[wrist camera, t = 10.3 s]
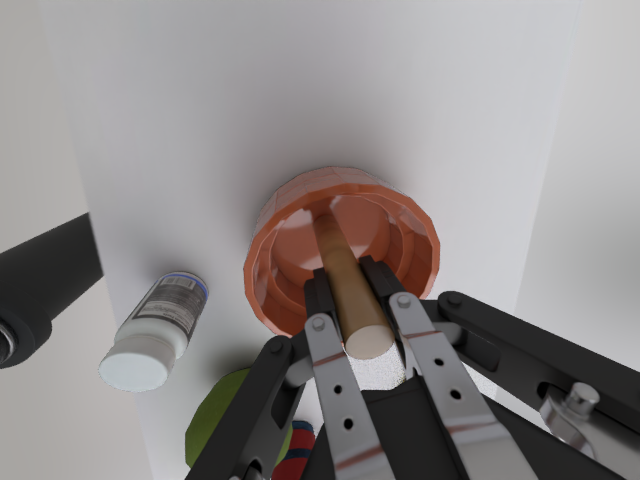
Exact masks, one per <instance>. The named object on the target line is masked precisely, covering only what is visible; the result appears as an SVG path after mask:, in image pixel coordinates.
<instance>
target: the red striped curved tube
mask: <svg viewBox="0 0 640 480" xmlns="http://www.w3.org/2000/svg"><path fill="white" fill-rule="evenodd" d="M291 423H292V428H293V432H292V436H291V440H290V444H289V448H288V451H287V453H286V455H285V457H284V458H283V459H282V460H281V461H280V463H279V464H278V465H277V466H276V467H275V468H274V470H273V473H272V475H271V480H299V479H300V477H301V475H302V472H303V470H304V467H305V465H306V462H307V460H308V458H309V455H310V453H311V450H312V448H313V446H314V443H315V435H314V432H313V427H312V426H311V425H310V424H309V423H306V422H302V421H294V422H291Z"/></svg>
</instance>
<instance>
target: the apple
mask: <svg viewBox="0 0 640 480" xmlns="http://www.w3.org/2000/svg"><path fill="white" fill-rule="evenodd" d="M250 369H251V368H246V369H243V370H239V371H236V372H232V373H230V374H228V375H226V376H224V377H222V378H221V379H220V380H219V381H218V382H217V383H216V385H215V386H214V387H213V389H212V390H211V391H210V393H209V394H208V395H207V396H206V398H205V399H204V400H203V402H202V403H201V404H200V406H199V407H198V409H197V411H196V413H195V415H194V417H193V419H192V421H191V423H190V425H189V427H188V429H187V431H186V433H185V458H186V464H187V465H188V466H189V467H190V468H192V466H193V465H194V463H195V461H196V460H197V458H198V456H199V455H200V453H201V451H202V450H203V448H204V446H205V444H206V443H207V441H208V439H209V438H210V436H211V434H212V433H213V431H214V429H215V428H216V426H217V424H218V423H219V421H220V419H221V418H222V416H223V414H224V413H225V411H226V409H227V407H228V406H229V404H230V402H231V401H232V399H233V397H234V396H235V394H236V392H237V391H238V389H239V387H240V386H241V384H242V382H243V381H244V379H245V377H246V376H247V374H248V372H249V371H250ZM292 432H293V428H292V423H291V425H290V428H289V430H288V433H287V435H286V438H285V441H284V443H283V446H282V449H281V451H280V454H279V457H278V459H277V462H276V465H275V467H276V466H277V465H278V464H279V463H280V461H281V460H282V459H283V458H284V457H285V455H286V453H287V451H288V448H289V444H290V440H291V436H292ZM275 467H274V468H275Z"/></svg>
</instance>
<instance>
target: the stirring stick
mask: <svg viewBox="0 0 640 480" xmlns="http://www.w3.org/2000/svg"><path fill="white" fill-rule="evenodd" d="M313 229H314V233H315V237H316V241H317V245H318V249H319V252H320V256H321V260H322V264H323V267H324V269H325V272H326V276H327V280H328V284H329V287H330V291H331V295H332V299H333V302H334V306H335V310H336V314H337V318H338V325H339V329H340V333H341V336H342V340H343V344H344V348H345V351H346V352H347V354H348V355H349V356H351V357H353V358H355V359H360V360H367V359H372V358H376V357H378V356H380V355H382V354H384V353H385V352H387V351H388V350H389V349H390V348H391V346H392V345H393V343H394V340H395V333H394V331H393V329H392V327H391V325H390V323H389V321H388V319H387V317H386V315H385V313H384V311H383V309H382V308H381V306H380V304H379V302H378V300H377V298H376V296H375V294H374V292H373V290H372V288H371V286H370V284H369V283H368V281H367V279H366V277H365V275H364V273H363V271H362V269H361V267H360V265H359V263H358V261H357V259H356V257H355V255H354V253H353V251H352V249H351V247H350V245H349V243H348V241H347V239H346V238H345V236H344V234H343V232H342V230H341V228H340V226H339V224H338V222H337V220H336V219H335V218H334V217H332V216H329V215H324V216H321V217H319V218H318V219H317V220H316V221H315V223H314V226H313Z"/></svg>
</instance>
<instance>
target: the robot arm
mask: <svg viewBox="0 0 640 480" xmlns="http://www.w3.org/2000/svg"><path fill="white" fill-rule="evenodd" d="M358 261H359V265H360V267H361V269H362V271H363V273H364V275H365V277H366V279H367V281H368V283H369V284H370V286H371V288H372V290H373V292H374V294H375V296H376V298H377V300H378V302H379V304H380V306H381V308H382V309H383V311H384V313H385V315H386V317H387V319H388V321H389V323H390V325H391V327H392V329H393V331H394V333H395V340H394V345H395V347H396V350H397V353H398V356H399V359H400V361H401V364H402V367H403V370H404V372H405V376H406V379H407V380H406V381H405V382H403V383H402V384H400V385H398V386H397V387H395V388H394V389H392V390H362V391H360V388H359V386H358V383H357V381H356V378H355V375H354V373H353V370H352V368H351V365H350V362H349V360H348V357H347V355H346V353H345V352H344V350H343V347H342V344H341V342H340V341H343V340H342V336H341V333H340V329H339V325H338V318H337V314H336V310H335V306H334V302H333V299H332V295H331V291H330V287H329V284H328V280H327V276H326V272H325V269H324V267H321V268H317V269H313V275H314V278H312V279H308V280H306V281H305V284H304V286H303V287H304V296H305V305H306V314H307V321H306V323H305V327H304V328H303V329H302V330H301V331H300V332H299V333H298V334H296V335H294V336H293V337H291V338H289V337H287V336H285V335H278V336H275V337H273V338H271V339H270V340H269V341H267V343H266V344H265V345H264V347H263V349H262V350H261V352H260V354H259V355H258V357H257V359H256V360H255V362H254V364H253V365H252V367H251V369H250V371H249V372H248V374H247V376H246V377H245V379H244V381H243V382H242V384H241V386H240V387H239V389H238V391H237V392H236V394H235V396H234V397H233V399H232V401H231V402H230V404H229V406H228V407H227V409H226V411H225V413H224V414H223V416H222V418H221V419H220V421H219V423H218V424H217V426H216V428H215V429H214V431H213V433H212V434H211V436H210V438H209V439H208V441H207V443H206V444H205V446H204V448H203V450H202V451H201V453H200V455H199V456H198V458H197V460H196V461H195V463H194V465H193V466H192V468H191V470H190V471H189V473H188V475H187V476H186V478H185V480H270V478H271V475H272V473H273V470H274V467H275V465H276V462H277V459H278V457H279V454H280V451H281V449H282V446H283V443H284V441H285V438H286V435H287V433H288V430H289V428H290V425H291V422H292V420H293V417H294V414H295V412H296V409H297V406H298V404H299V401H300V398H301V396H302V393H303V391H304V388H305V385H306V381H308V380H309V379H311V378H312V377H314V378H315V383H316V387H317V392H318V396H319V401H320V405H321V410H322V414H323V419H324V423H323V425H322V427H321V429H320V431H319V433H318V436H317V438H316V441H315V443H314V446H313V448H312V450H311V453H310V455H309V458H308V460H307V462H306V465H305V467H304V470H303V472H302V475H301V477H300V479H299V480H640V372H638V371H635V370H633V369H631V368H629V367H626V366H624V365H622V364H619V363H617V362H615V361H613V360H611V359H609V358H606V357H604V356H602V355H600V354H597V353H595V352H593V351H590V350H588V349H586V348H584V347H581V346H579V345H577V344H575V343H573V342H570V341H568V340H566V339H563V338H561V337H559V336H557V335H554V334H552V333H550V332H548V331H546V330H543V329H541V328H539V327H537V326H534V325H532V324H530V323H528V322H525V321H523V320H521V319H519V318H516V317H514V316H512V315H510V314H508V313H505V312H503V311H501V310H499V309H496V308H494V307H492V306H490V305H487V304H485V303H483V302H481V301H478V300H476V299H474V298H472V297H469V296H467V295H465V294H463V293H460V292H456V291H446V292H443V293H441V294H440V295H439V296H438V300H423V299H418V298H417V297H416V296H415V295H414V294H412V293H409V292H407V291H406V289H405V288H404V286H403V285H402V284H401V282H400V281H399V279H398V278H397V277H396V275H395V274H394V272H393V271H392V270H391V268H390V267H389V265H388V264H386V263H385V262H383V261H377V262H375V261H374V259H373V258H372V256H371V255H367V256H363V257H359V258H358ZM469 331H470V332H469ZM478 336H479V337H478ZM487 341H488V342H487ZM489 342H490V343H489ZM18 346H19V340H18V337H17V334H16V333H15V331H14V330H13V329H12V327H11V326H10V325H9V324H8V323H6V322H5V321H4V320H3V319H1V318H0V364H2V363H3V362H5V361H6V360H7V359H9V358H10V357H11V356H12V355H13V354H14V353H15V352H16V351H17V349H18ZM461 361H462V362H464V363H465V364H467V365H468V366H470V367H471V368H473V369H474V370H476V371H477V372H479V373H480V374H482V375H483V376H485V377H486V378H488V379H489V380H491V381H492V382H494V383H495V384H497V385H498V386H500V387H502V388H503V389H504V390H506V391H508V392H509V393H510V394H512V395H513V396H515V397H517V398H518V399H520V400H521V401H523V402H524V403H526V404H527V405H529V406H530V407H532V408H533V409H535V410H536V411H538V412H539V413H540V415H541V417H542V419H543V421H544V422H545V424H546V425H547V426H548V428H549V429H550V431H551V433H552V434H553V435H554V436H553V435H551V434H550V433H548V432H546V431H545V430H543V429H541V428H540V427H538V426H536V425H535V424H533V423H531V422H530V421H528V420H526V419H524V418H523V417H521V416H519V415H518V414H516V413H514V412H512V411H511V410H509V409H508V408H506V407H504V406H502V405H501V404H499V403H497V402H496V401H494V400H492V399H491V398H489V397H487V396H486V395H484V394H482V393H480V391H479V390H478V388H477V387H476V385H475V383H474V382H473V380H472V378H471V377H470V375H469V373H468V372H467V370H466V368H465V367H464V365H463V363H462V362H461Z"/></svg>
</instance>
